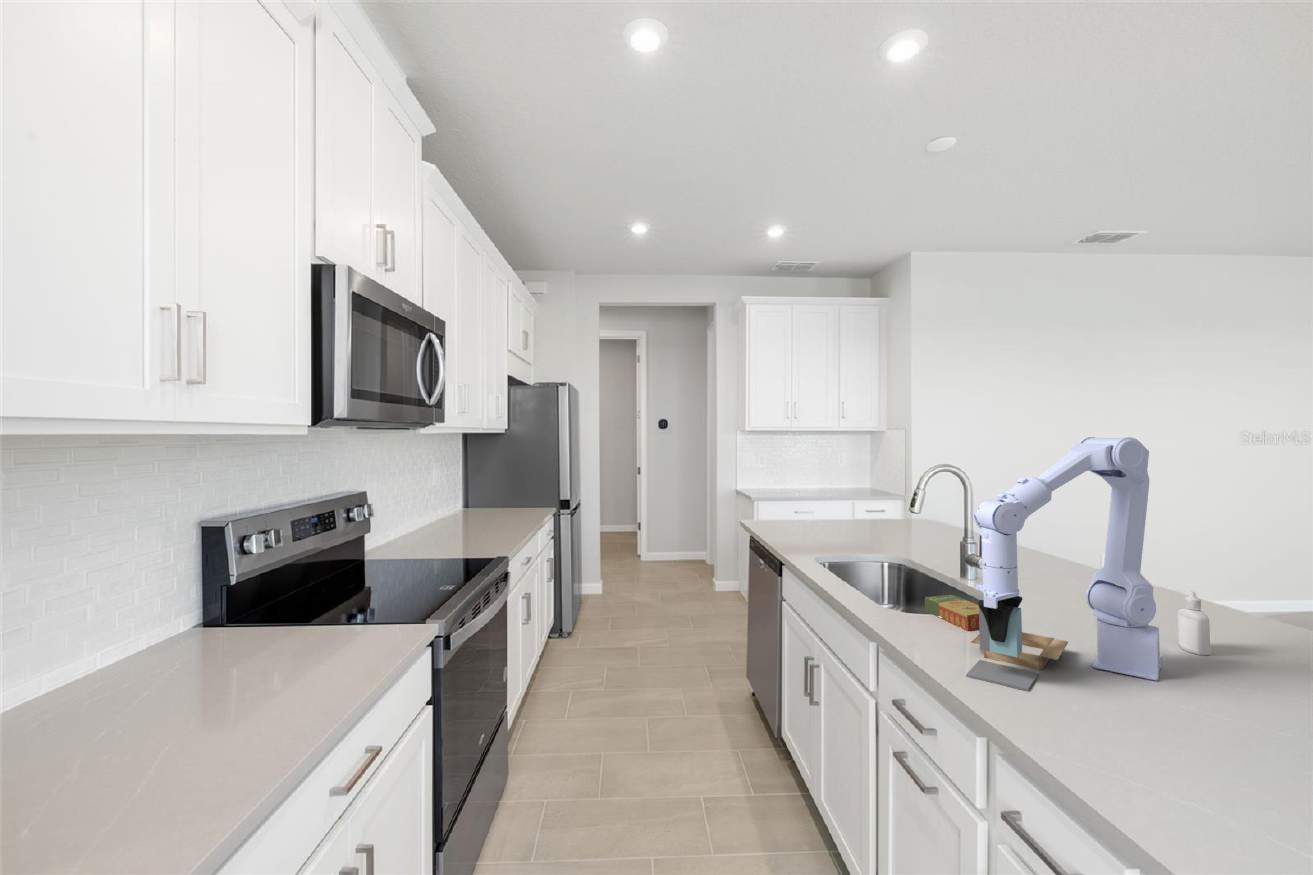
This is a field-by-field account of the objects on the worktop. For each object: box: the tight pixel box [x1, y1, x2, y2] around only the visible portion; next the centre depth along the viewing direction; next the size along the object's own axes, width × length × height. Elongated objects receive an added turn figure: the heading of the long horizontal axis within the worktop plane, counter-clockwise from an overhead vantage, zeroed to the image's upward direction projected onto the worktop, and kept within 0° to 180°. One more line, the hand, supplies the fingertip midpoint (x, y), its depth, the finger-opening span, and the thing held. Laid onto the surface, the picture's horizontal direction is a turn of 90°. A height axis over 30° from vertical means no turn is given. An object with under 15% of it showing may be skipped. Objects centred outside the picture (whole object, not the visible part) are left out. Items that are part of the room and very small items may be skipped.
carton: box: [924, 594, 979, 632], centre depth 142 cm, size 8×16×4 cm, turn 9°
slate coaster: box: [965, 659, 1040, 692], centre depth 109 cm, size 10×9×1 cm
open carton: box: [970, 631, 1069, 671], centre depth 119 cm, size 15×13×2 cm
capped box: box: [978, 607, 1023, 657], centre depth 109 cm, size 6×4×8 cm
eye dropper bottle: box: [1177, 591, 1211, 656], centre depth 118 cm, size 4×6×12 cm
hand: (1001, 637), depth 109 cm, fingers closed on capped box, 4 cm apart
